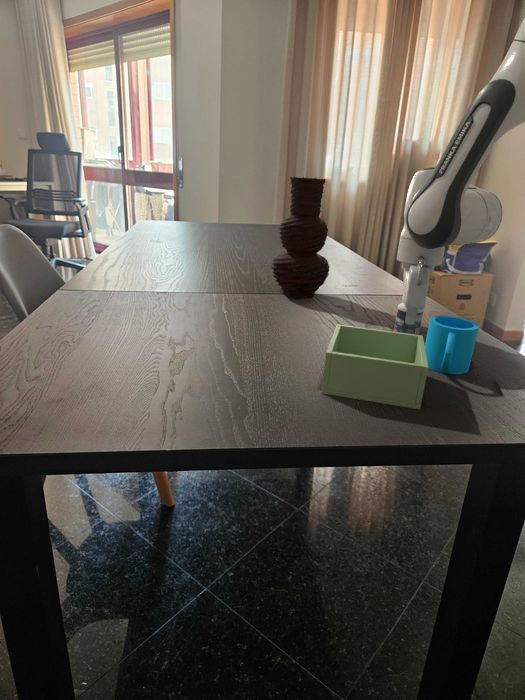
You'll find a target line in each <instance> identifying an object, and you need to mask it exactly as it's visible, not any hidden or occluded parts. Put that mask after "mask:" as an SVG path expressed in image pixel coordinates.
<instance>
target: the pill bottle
mask: <svg viewBox="0 0 525 700" xmlns="http://www.w3.org/2000/svg"><path fill="white" fill-rule="evenodd" d="M401 301H402V302H400V303H398V305H397V309H396V314H395V315H396V316H395V321H394V327H393V332H400V333H408V334H415V335H420V331H421V325H422V321H423V316H424V309H423V310H418V311H417V314H416V316H415V321H414V324H413V325H410V324H406V323H405V317H406V311H407V308H406V307H405V300H404V293H403V294H402V297H401Z"/></svg>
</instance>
